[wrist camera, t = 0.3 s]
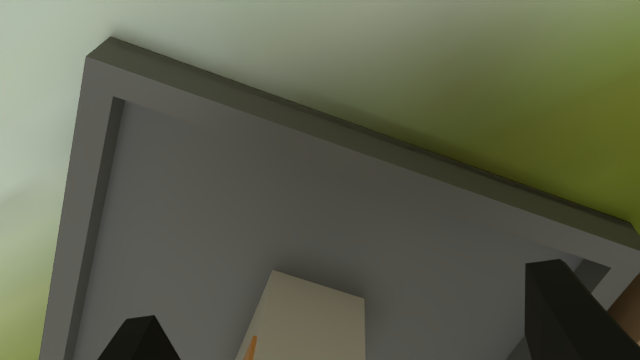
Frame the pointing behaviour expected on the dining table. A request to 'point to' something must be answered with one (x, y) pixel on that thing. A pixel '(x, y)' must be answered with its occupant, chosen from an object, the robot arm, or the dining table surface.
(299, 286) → the block
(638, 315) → the stand
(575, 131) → the dining table surface
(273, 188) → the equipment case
